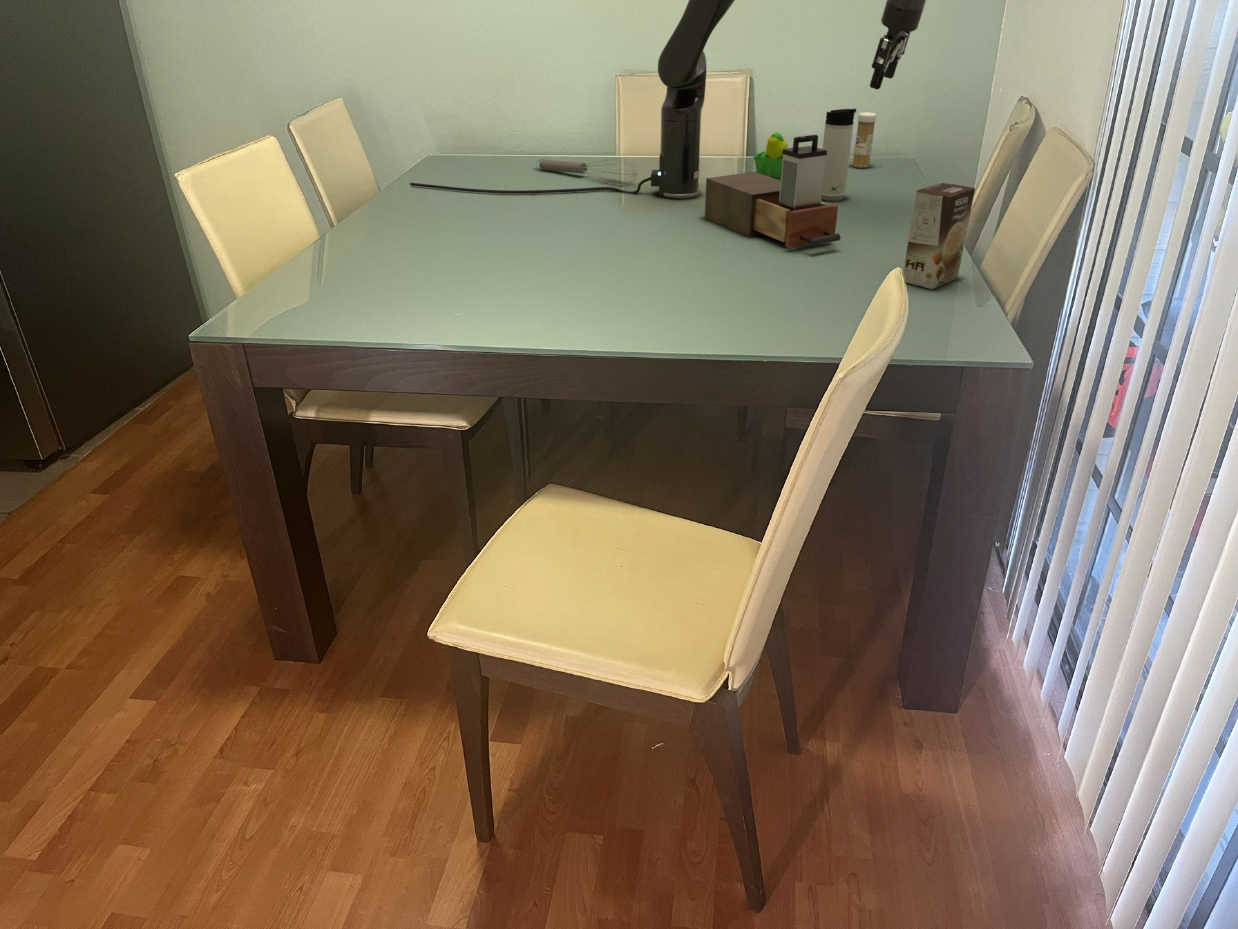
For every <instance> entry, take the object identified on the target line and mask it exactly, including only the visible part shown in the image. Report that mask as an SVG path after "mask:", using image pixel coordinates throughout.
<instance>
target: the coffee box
mask: <svg viewBox="0 0 1238 929" xmlns="http://www.w3.org/2000/svg"><path fill="white" fill-rule="evenodd" d="M975 193H976V188H975V187H971V186H966V185H960V184H955V183H954V184H953V183H946V182H941V183H938V184H934V185H930V186H927V187H923V188H920V189H917V190H916V193H915V199H914V205H913V211H912V217H911V223H910V229H909V234H908V240H907V247H906V252H905V259H904V265H903V271H904V276H905V282H904V283H906V284H910V285H914V286H918V287H922V288H926V289H929V290H934V289H936V288H938V287H941V286H943V285H945V284H947V283H950V282H952V281H954V280H956V279H958V278H959V273H960V268H961V264H962V258H963V253H964V248H965V243H966V237H967V232H968V227H969V223H970V218H971V212H972V206H973V202H974V196H975ZM903 271H902V272H903Z"/></svg>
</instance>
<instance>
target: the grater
mask: <svg viewBox="0 0 1238 929" xmlns="http://www.w3.org/2000/svg"><path fill="white" fill-rule="evenodd" d="M809 142H811V145H806V146H800V144H801V143H809ZM818 143H819V135H818V134H809V135H802V136H795V137H793V142H792V147H789V148H788V147H787V149H783V151H782V154H783V160H782V172H781V179H780V180H781V183H780V195H779V206H781V207H783V208H786V209H789V210H790V211H795V210H801V209H807V208H813V207H819V206H821V202H822V200H821V196H822V187H823V178H824V169H825V160H826V155H827V150H824V149H822V148H820V147H818V145H819V144H818Z"/></svg>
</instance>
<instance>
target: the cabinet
mask: <svg viewBox="0 0 1238 929" xmlns="http://www.w3.org/2000/svg"><path fill="white" fill-rule="evenodd" d="M780 183H781V179H777V178H772V177H769V176H765V175H762V174H759V173H757V171H749V172H743V173H742V172H741V173H735V174H727V175H720V176H713V177H706V179H705V199H704V219H706V220H708V221H710V222H712V223H715V224H717V225H719V226H722V227H724V228H726V229H729V230H731V231H733V232H736V233H738V234H741V235H742V236H745V237H748V238H752V237H758V236H763V235H765V234H762V233H760V232H757V231H755V230H753V218H754V204H755V198H760V197H766V196H773V195H780Z"/></svg>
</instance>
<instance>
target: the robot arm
mask: <svg viewBox="0 0 1238 929" xmlns="http://www.w3.org/2000/svg"><path fill="white" fill-rule="evenodd" d="M735 1H736V0H688V2H687V4H686V7H685V9H684V11H683V14H682V15H681V18H680V20H679V22H678V24H677V25H676V27H675V29H674V30H673V32H672V34H671V35H670V37H669V39H668V41H667V42H666V44H665V45H664V47H663V49H662V51H661V52H660V55H659V57H658V61H657V75H658V77H659V80H660V82H661V83H662V84H663V85H664V86H665V87H666V94H665V98H664V101H663V103H662V104H661V107H660V108H661V109H660V148H659V149H660V150H659V151H660V152H659V157H658V158H659V161H658V163H659V164H658V165H659V166H658V167H659V168H658V169H652V170H651V173H650V176H649V177H646V178H644V179H643V180H641V181H640V182H639V183H638V185H637V187H636V188H637V189H636V190H634V191H627V190H623V189H621V188H618V187H613V186H594V187H593V186H592V187H579V188H577V187H576V188H562V189H561V188H559V189H533V190H532V189H531V190H530V189H529V190H527V189H526V190H520V189H519V190H515V189H514V190H513V189H512V190H510V189H509V190H506V189H505V190H504V189H503V190H502V189H501V190H500V189H481V188H467V187H466V188H465V187H457V186H447V185H437V184H428V183H419V182H410V183H409V185H410V186H412V187H421V188H431V189H439V190H440V189H441V190H447V191H448V190H449V191H458V192H459V191H460V192H470V193H471V192H472V193H485V194H509V195H510V194H511V195H513V194H516V195H517V194H518V195H519V194H521V195H522V194H527V195H528V194H556V193H557V194H559V193H575V192H592V191H614V192H617V193H624V194H632V195H636V194H638V193H639V192H640V191H641V188H642V185H643V184H644V183H648V182H650V187H658V197H661V198H666V199H667V198H668V199H678V200H680V199H681V200H682V199H691V198H695V197H697V196H699V191H700V190H699V178H700V154H701V153H700V152H701V130H702V128H701V127H702V111H703V107H704V104H705V99H706V98H705V96H706V85H707V68H708V66H707V58H706V53H705V51H704V50H705V48H706V45H707V43H708V41H709V38H710V36H711V35H712V33H713V31H714V30H715V29H716V27H717V26H718V24H719V23H720V22H721V20H722V19H723V18H724V17H725V15H726V14H727V12H728V11H729V10H730V8H731V7H732V5H733V4H734V3H735ZM926 2H927V0H886V2H885V4H884V5H885V6H884V8H883V12H882V16H881V20H880V22H881V24H882V25H883V26H884V27H886V28H887V32H886V34H884V35H883V37H881V36H880V39H879V42H878V45H877V48H876V51H875V54H874V57H873V61H872V64H871V69H874V70H873V73H872V76H871V79H870V83H869V87H870V88H871V89H874V90H879V89H881V87H882V84H883V81H884V79H885V78H887V79H889V80H890V79H893V78H894V77H895V74H896V70H897V67H898V65H899V61H901V59H902V56H904V54H905V53H906V48H907V45H908V42H909V39H910V35H911V32H915V31H916V30H918V27H919V24H920V21H921V19H922V14H923V12H924V9H925V5H926ZM881 61H882V63H880V62H881Z"/></svg>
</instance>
